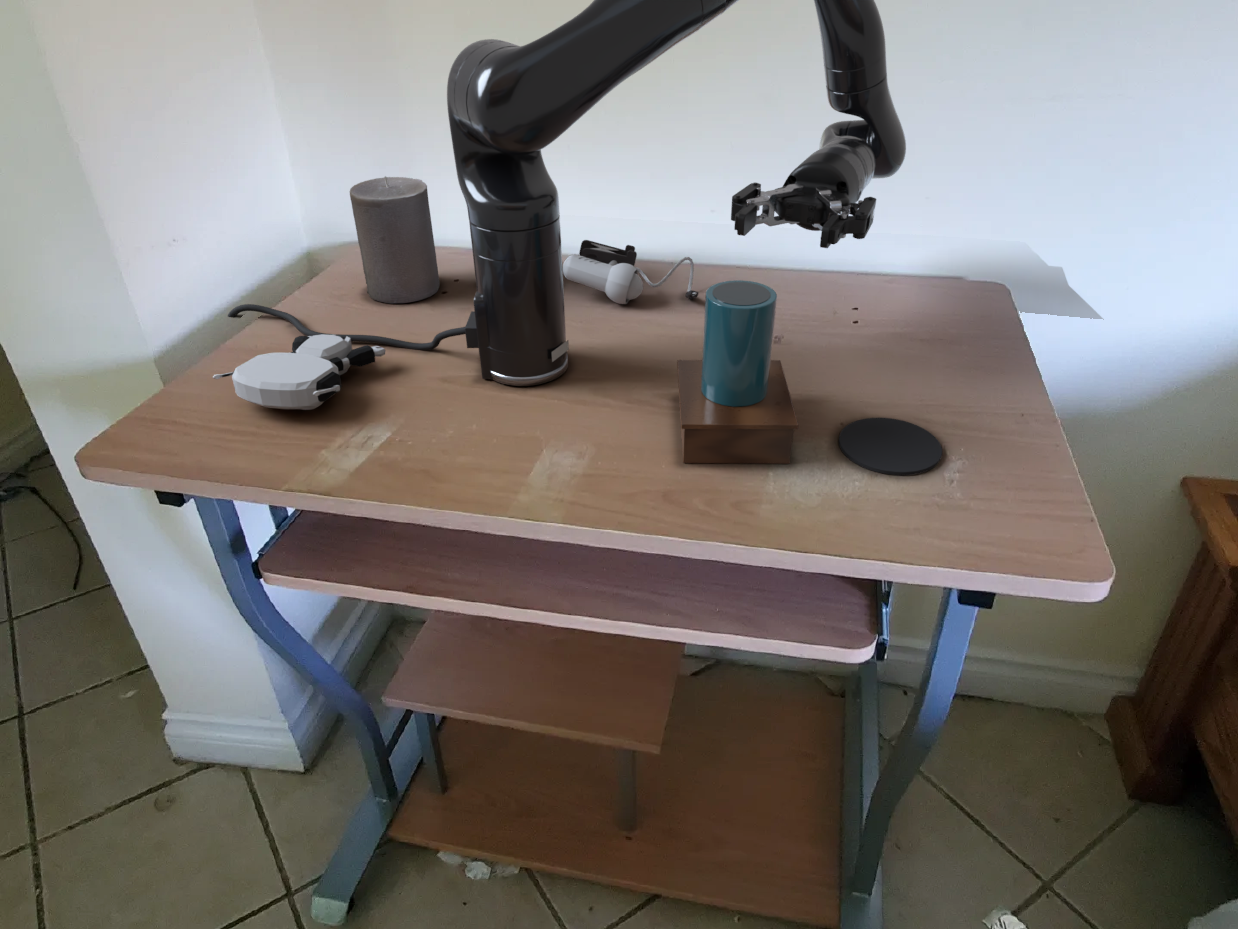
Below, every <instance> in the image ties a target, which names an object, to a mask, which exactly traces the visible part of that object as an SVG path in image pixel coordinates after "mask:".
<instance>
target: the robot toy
mask: <svg viewBox="0 0 1238 929" xmlns="http://www.w3.org/2000/svg"><path fill="white" fill-rule="evenodd" d="M326 334H327V333H326ZM326 334H322V335H314V336H306V335H299V336H296V337H295V338H294V340H293V341H292V344H291V351H290V352H269V353H262V354H257V355H256V356H253V357H252V358H251V359H249V360H247V361H245V362H243V363H242V364H240V365H238V366H236V367H235V369H234V370H233V371H231V372H226V373H221V374H213V376H212V379H214V380H219V379H221V378H226V377H231V379H232V383H233V389H234V392H235V394H236V395H237V397H239V398H240V399H242V400H244V401H246V402H249V403H251V404H254V405H257V406H260V407H264V408H267V409H268V408H269V409H280V410H302V411H311V410H315V409H317V408H318V407H320V406H322V405H323V403H324V402H326V401H327V400H329V399H330V398H332V397H333V396H334V395H336V394H337V393H339V392H340V391H341V388H342V387H343V386H342V380H341V376H342V375H344V374H345V373H347V372H348V371H349V369H350V367H351V366H355V367H364V366H367V365H370V364H373V363H376V358H377V357H378V358H381V357H383V356H385V355H386V348H384V347H382V346H379V345H373V346H370V345H368V344H366V345H362V346H359V347H355V348H353V346H352V345H353V344H352V342H351V338H349V337H347V336H346V338H345V337H342V336H336V335H326Z"/></svg>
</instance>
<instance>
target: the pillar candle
mask: <svg viewBox="0 0 1238 929" xmlns="http://www.w3.org/2000/svg"><path fill="white" fill-rule="evenodd" d="M428 194H429V193H428V185H427V183H425V182H424V181H423V180H422V179H419V178H412V177H406V176H405V177H404V176H386V175H385V176H384V177H376V178H372V179H368V180H364V181H360V182H359V183H356V184H354V185H352V186H351V187H350V189H349V197H350V202H351V209H352V213H353V219H354V220H353V221H354V226H355V230H356V236H357V242H358V246H359V251H360V256H361V262H362V269H363V274H364V279H365V285H366V294H367V295H368V297H369V298H370V299H372V300H374V301H377V302H380V303H385V304H408V303H414V302H419V301H422V300H425V299H427V298H430V297H432V296H433V295H435V294H436V293H437V292H438V291H439V289H440V284H441V283H440V277H439V269H438V260H437V252H436V246H435V238H434V232H433V224H432V217H431V210H430V201H429V195H428Z"/></svg>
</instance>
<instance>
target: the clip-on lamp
mask: <svg viewBox="0 0 1238 929" xmlns="http://www.w3.org/2000/svg"><path fill="white" fill-rule="evenodd" d="M635 250H636V247H635V246H633V245H630V244H627V245H625V249H622V248H619V247H614V246H611V245H608V244H604V243H600V242H596V241H593V240H589V239H584V240H582V242H581V244H580V249H579V252H578V253H579V254H576V253H573V254H570V255H568V256H567V257H566V259H565V260H564V261H563V263H562V270H563V277H564V278H566V280H568V281H571V282H574V283H576V284H579V285H582V286H586V287H589V288H592V289H594V290H597V291H600V292H604V293H605V294H606V296H607V297H608V298H609V300H611V301H612V302H614V303H616V304H619V305H628V303H629V302H630V300H634V299H637V298H639V297H640V295H642V292H643V290H644V282H643V280H644V281H645V282H646V284H647V285H649V287H651V288H658V287H660V286H662V285H663V284H664V283H665V282H666V281H667V280H668V279H669V278H670V277H671V276H672V275H673V273H674V272H675V271H676V270H677V268H679V267H680V265H681V264H683V263H684V262H686V261H689V264H690V271H689V273H690V274H689V278H688V279H689V280H688V285H687V290H686V293H685V298H686V299H688V300H693V299H696V298H698V296H699V292H698V291H696V290H693V289H692V287H693V279H694V271H695V270H694V269H695V268H694V261H693V258H691V257H690V256H685V257H682V258H681V259H680V260H678V261H677V263H676V264H674V265H673V267H672V268H671V269H670V270H669V272H668V273H667V274H666V275H665V276H664V277H663V278H662V279H661V280H660V281H658V282H657V283H653V282H652V281H651V280H650V279H649V278H648V277H647V275H646V274H645V272H644V271H643V270H642V269H641V268H639V267H637V266H635V264H636V260H637V255H638V254H637V251H635ZM638 274H640V275H638ZM640 276H641V277H642V278H643V279H642V278H641V277H640Z"/></svg>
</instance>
